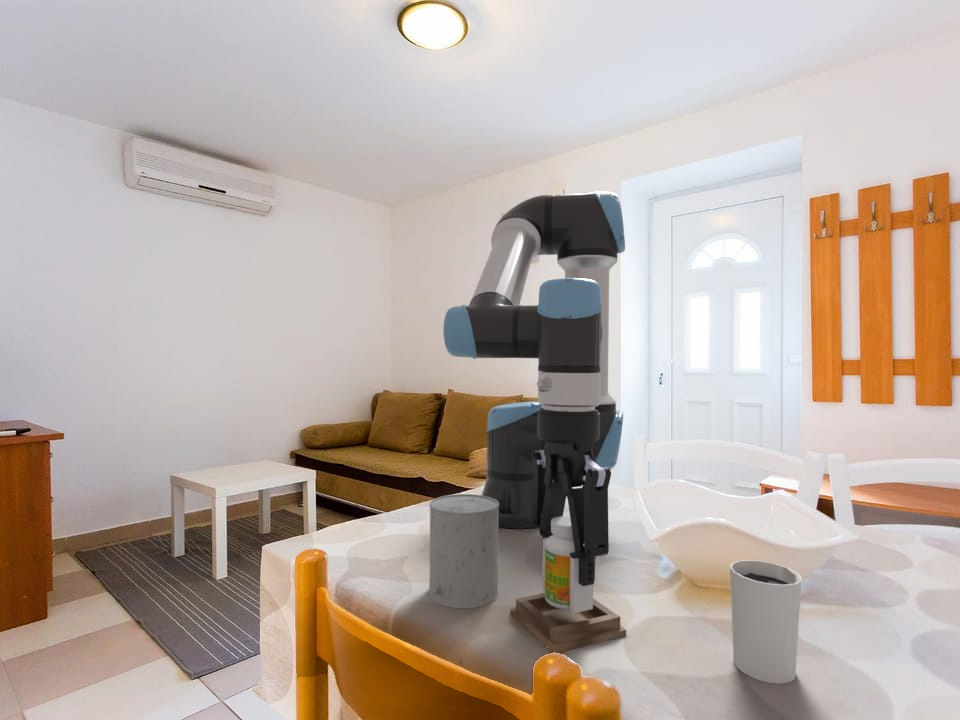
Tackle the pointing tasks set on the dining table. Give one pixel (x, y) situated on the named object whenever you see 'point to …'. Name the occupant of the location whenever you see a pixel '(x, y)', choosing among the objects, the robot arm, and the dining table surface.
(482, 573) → the gray concrete cylinder
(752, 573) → the white cup
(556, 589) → the supplement bottle
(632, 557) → the dining table surface
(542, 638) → the walnut holder
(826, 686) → the dining table surface
